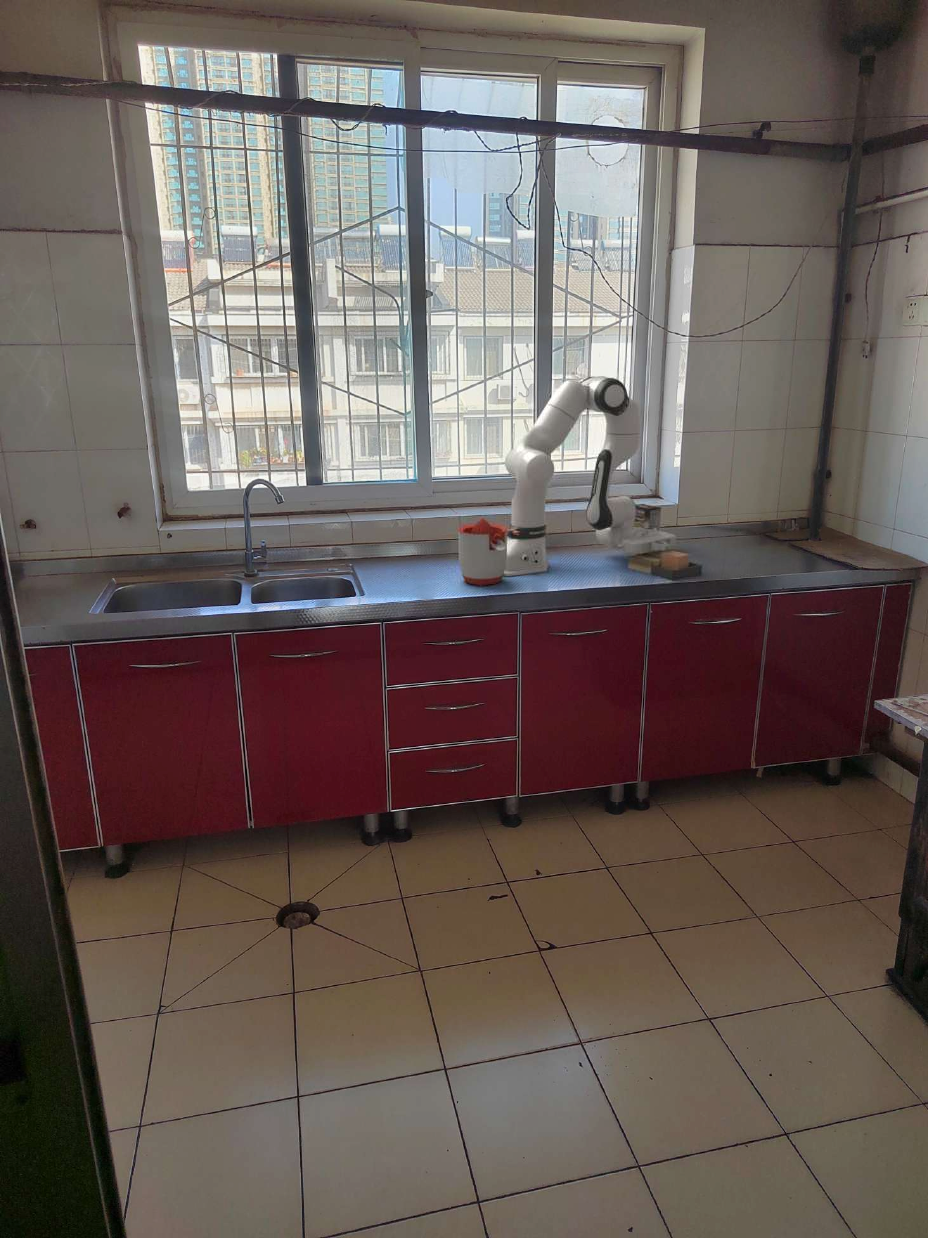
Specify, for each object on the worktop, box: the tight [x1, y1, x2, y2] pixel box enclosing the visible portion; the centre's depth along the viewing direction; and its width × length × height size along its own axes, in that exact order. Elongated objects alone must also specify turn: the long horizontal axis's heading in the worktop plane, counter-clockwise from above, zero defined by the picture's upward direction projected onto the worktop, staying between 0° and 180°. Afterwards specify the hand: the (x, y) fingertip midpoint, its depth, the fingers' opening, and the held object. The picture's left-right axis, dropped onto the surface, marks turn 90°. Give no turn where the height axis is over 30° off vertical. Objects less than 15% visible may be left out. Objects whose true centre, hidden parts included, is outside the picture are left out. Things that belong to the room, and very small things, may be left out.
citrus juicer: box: [457, 518, 509, 586], centre depth 251 cm, size 16×17×20 cm
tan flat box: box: [627, 551, 663, 575], centre depth 267 cm, size 12×10×4 cm
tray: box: [650, 561, 703, 581], centre depth 259 cm, size 13×9×3 cm
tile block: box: [661, 550, 690, 570], centre depth 259 cm, size 5×6×7 cm
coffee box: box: [634, 503, 662, 553], centre depth 290 cm, size 9×6×16 cm
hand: (667, 547), depth 260 cm, fingers closed
